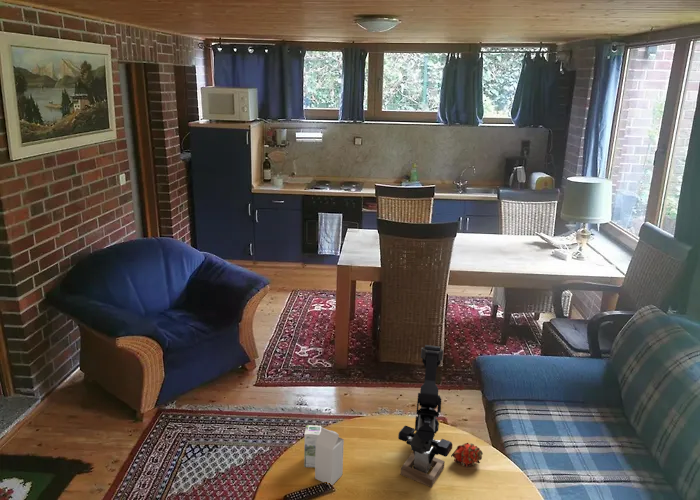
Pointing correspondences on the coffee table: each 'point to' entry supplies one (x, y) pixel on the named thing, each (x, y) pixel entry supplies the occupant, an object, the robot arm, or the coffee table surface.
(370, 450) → the coffee table surface
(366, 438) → the coffee table surface
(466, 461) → the dragon fruit
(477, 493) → the coffee table surface
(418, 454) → the rectangular block
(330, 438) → the milk carton
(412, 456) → the well block
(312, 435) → the syrup box
